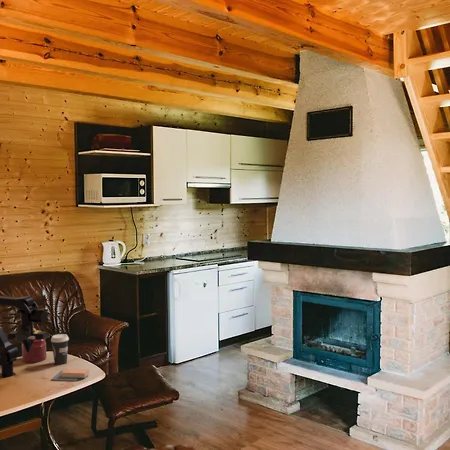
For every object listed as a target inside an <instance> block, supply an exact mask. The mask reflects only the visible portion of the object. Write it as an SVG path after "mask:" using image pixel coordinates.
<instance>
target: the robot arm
mask: <svg viewBox="0 0 450 450" xmlns="http://www.w3.org/2000/svg"><path fill="white" fill-rule="evenodd" d="M0 306H8V307H15V308H16V309H18V310H17V311H16V314H20V324H19V329H17V330H12V331H10V332H8V334H7V336H6V334H5V332H4V331H3V329H2V328H1V326H0V371H1V373H0V377H2V378H3V379H4V378H8V377H11V376H16V375H17V373H16V372H15V371H14V362H16V361H17V358H18V356H19V348H18V347H17V345H16V343H14V342H13V343H11V342H9V340H16V341H19V342H21V344H22V343H23V344H24V346H25V349H26V351H27V352H30V349H31V346H32V344H33V342H34V340H35V339H36V340H43V339H45V338H46V339H47V337H48V336H49V335H48V332H47V331H41V330H39V331H40V332H38V333H37V334H36V333H34V332H35V330H33V328H34V325H35V323H39V324H45V323H46V322H47V321H48V318H49V317H48V316H49V315H48V313H47V311H46V309H44V308H39V305H38V304H37V303H36V302H35V300H34V298H33V297H32V296H31V295H26V296H20V297H15V296H14V297H13V296H5V295H0ZM46 339H45V340H46Z"/></svg>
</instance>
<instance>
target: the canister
mask: <svg viewBox="0 0 450 450" xmlns="http://www.w3.org/2000/svg"><path fill="white" fill-rule="evenodd" d="M33 330H35V332H34V333H36V334H37V333H38V332H40V331H41V330H38V329H37V330H36V328H34V327H33ZM46 340H47V337H46V338H45V339H43V340H36V339H35V340H34V342H33V344H32V346H31V349H30V352H27V351H26V349H25V346H24V344H23V343H22V342H21V358H22V362H23V363H26V364H27V363H28V364H34V363H35V364H36V363H40V362H42V361H44V360H46V359H47V356H48V354H47V342H46Z"/></svg>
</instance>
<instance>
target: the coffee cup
mask: <svg viewBox="0 0 450 450" xmlns="http://www.w3.org/2000/svg"><path fill="white" fill-rule="evenodd" d="M69 340H70V337H69V336H68V334H66V333H65V334H64V333H59V334H53V335H52V337H51V338H50V342H51V346H52V347H51V348H52V353H53V355H52V356H53V361H54V365H56V366H62V365H65V364H67V363H68V351H69V350H68V349H69V348H68V347H69Z"/></svg>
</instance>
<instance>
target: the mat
mask: <svg viewBox="0 0 450 450" xmlns="http://www.w3.org/2000/svg"><path fill="white" fill-rule="evenodd" d="M63 371H64V370H60V371H59V372H58V373H56V374H55V375H54V376H53V377H52V378H51V379H50V381H53V382H55V381H57V382H58V381H59V382H60V381H61V382H77V381H78V380H79V379H80V378H62V375H61V373H62V372H63Z"/></svg>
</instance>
